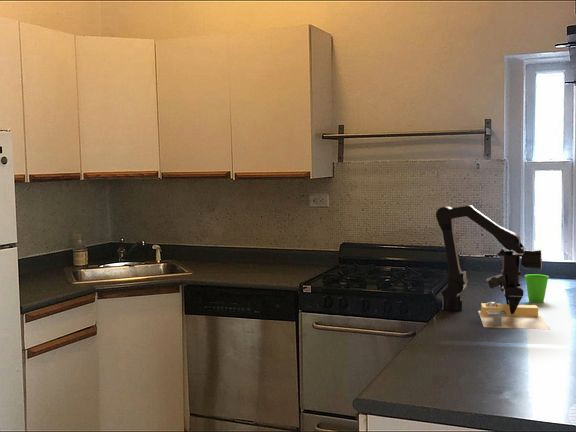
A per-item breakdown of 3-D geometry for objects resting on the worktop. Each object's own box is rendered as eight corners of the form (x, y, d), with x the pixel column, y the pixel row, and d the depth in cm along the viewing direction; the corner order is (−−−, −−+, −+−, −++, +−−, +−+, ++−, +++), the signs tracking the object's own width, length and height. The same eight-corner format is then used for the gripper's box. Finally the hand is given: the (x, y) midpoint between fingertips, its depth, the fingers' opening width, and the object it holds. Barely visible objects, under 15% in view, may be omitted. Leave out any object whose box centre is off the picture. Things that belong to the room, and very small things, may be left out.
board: (483, 329, 231) (483, 326, 231) (478, 313, 255) (478, 310, 255) (550, 332, 227) (550, 329, 227) (537, 315, 251) (538, 312, 251)
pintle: (487, 314, 249) (488, 303, 249) (487, 312, 252) (487, 301, 252) (496, 314, 249) (496, 303, 248) (495, 312, 252) (495, 301, 251)
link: (535, 312, 251) (535, 304, 251) (538, 317, 244) (538, 308, 244) (481, 311, 254) (481, 303, 254) (482, 315, 248) (482, 307, 247)
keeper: (506, 326, 231) (507, 315, 230) (488, 326, 232) (488, 314, 231) (504, 321, 238) (504, 310, 237) (486, 321, 239) (486, 310, 238)
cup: (533, 307, 265) (533, 278, 264) (519, 302, 274) (519, 274, 273) (553, 305, 268) (554, 277, 267) (539, 301, 276) (539, 273, 276)
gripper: (485, 263, 258) (485, 305, 260) (490, 271, 240) (489, 316, 241) (516, 264, 256) (516, 306, 258) (523, 272, 238) (523, 317, 239)
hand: (510, 311), depth 249 cm, fingers open, 9 cm apart
